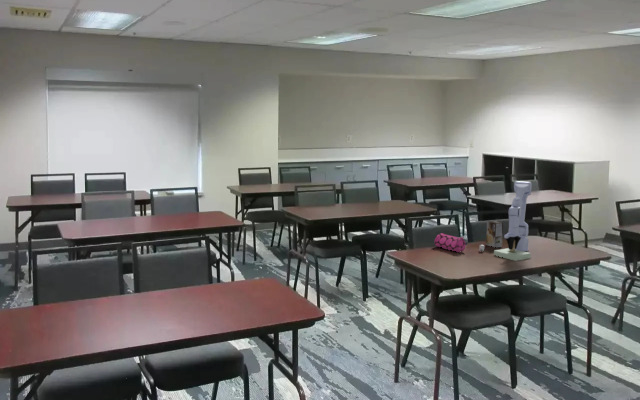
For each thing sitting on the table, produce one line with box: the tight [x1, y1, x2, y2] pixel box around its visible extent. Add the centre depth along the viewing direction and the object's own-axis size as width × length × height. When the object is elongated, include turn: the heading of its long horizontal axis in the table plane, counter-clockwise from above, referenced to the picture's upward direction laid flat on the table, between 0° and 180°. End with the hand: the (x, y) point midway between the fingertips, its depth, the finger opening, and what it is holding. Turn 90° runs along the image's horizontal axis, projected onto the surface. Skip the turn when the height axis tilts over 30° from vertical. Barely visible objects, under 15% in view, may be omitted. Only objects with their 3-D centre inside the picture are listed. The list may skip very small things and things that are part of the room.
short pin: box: [478, 244, 486, 252], centre depth 356 cm, size 3×3×4 cm
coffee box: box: [485, 220, 504, 248], centre depth 372 cm, size 9×6×16 cm
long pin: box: [510, 240, 515, 253], centre depth 343 cm, size 3×3×7 cm
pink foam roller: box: [433, 232, 468, 253], centre depth 360 cm, size 21×10×10 cm, turn 34°
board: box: [493, 247, 532, 261], centre depth 343 cm, size 14×16×3 cm
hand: (512, 248), depth 343 cm, fingers closed on long pin, 3 cm apart
